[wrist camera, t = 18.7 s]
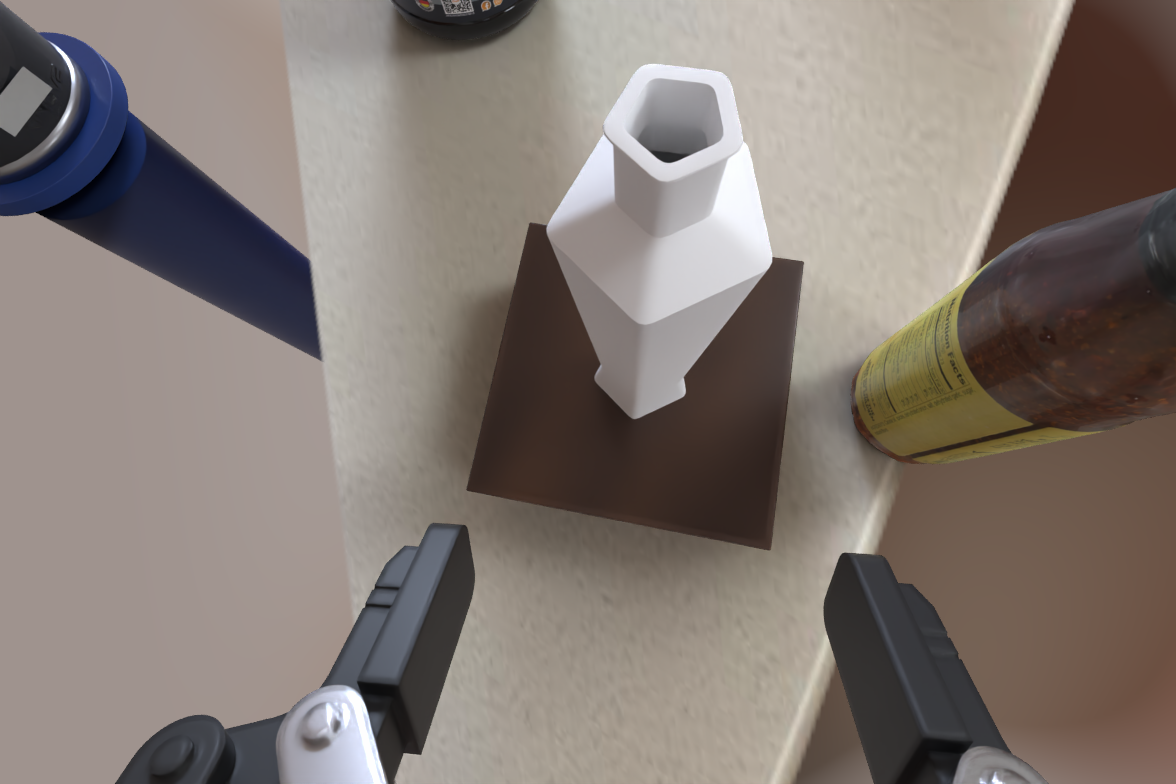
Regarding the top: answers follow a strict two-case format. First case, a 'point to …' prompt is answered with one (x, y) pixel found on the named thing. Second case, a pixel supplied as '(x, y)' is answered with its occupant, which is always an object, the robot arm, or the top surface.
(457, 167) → the top surface
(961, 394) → the sauce bottle
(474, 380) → the top surface
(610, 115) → the white faceted vase
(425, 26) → the supplement container
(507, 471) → the box
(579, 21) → the top surface
